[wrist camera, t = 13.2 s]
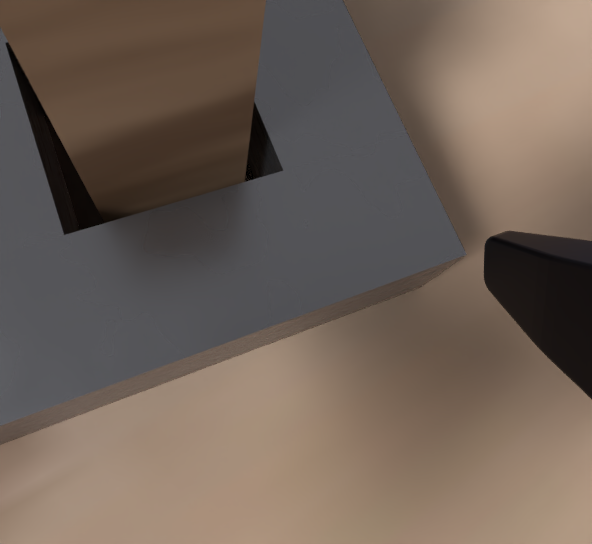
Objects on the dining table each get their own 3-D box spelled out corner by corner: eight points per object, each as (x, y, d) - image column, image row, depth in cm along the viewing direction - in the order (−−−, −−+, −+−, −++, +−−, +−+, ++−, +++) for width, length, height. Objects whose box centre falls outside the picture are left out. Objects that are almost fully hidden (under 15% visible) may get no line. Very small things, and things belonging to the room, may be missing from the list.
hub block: (420, 287, 18) (466, 254, 15) (-9, 447, 15) (-73, 452, 12) (274, -32, 21) (285, -117, 18) (-110, 44, 18) (-183, -44, 15)
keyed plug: (242, 201, 18) (292, -231, 6) (114, 242, 17) (-112, -183, 5) (187, 67, 19) (142, -507, 8) (64, 98, 18) (-213, -514, 6)
